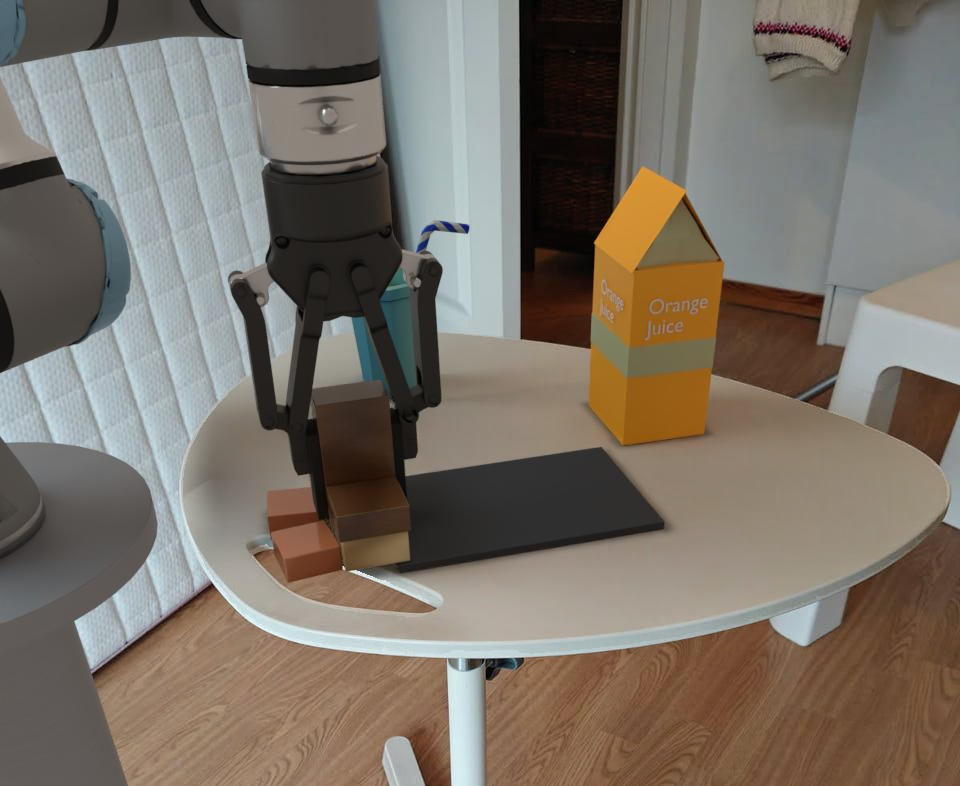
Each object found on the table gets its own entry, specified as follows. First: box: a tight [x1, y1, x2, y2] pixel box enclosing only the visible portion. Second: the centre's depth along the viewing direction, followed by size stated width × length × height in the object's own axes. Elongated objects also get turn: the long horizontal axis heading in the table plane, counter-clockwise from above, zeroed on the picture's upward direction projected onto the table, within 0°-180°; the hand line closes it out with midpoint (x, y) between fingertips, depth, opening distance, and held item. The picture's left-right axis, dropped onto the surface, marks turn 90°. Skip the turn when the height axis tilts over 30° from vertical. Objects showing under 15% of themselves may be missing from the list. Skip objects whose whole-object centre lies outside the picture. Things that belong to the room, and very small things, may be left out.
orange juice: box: [588, 165, 725, 446], centre depth 84 cm, size 8×9×20 cm
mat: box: [395, 446, 666, 574], centre depth 78 cm, size 20×13×1 cm, turn 105°
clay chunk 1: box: [266, 486, 325, 541], centre depth 76 cm, size 4×4×2 cm
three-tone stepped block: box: [310, 380, 411, 572], centre depth 72 cm, size 5×12×10 cm, turn 16°
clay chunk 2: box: [271, 519, 344, 583], centre depth 72 cm, size 4×4×2 cm
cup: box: [350, 219, 471, 400], centre depth 93 cm, size 14×8×15 cm, turn 101°
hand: (360, 503), depth 74 cm, fingers closed on three-tone stepped block, 5 cm apart
